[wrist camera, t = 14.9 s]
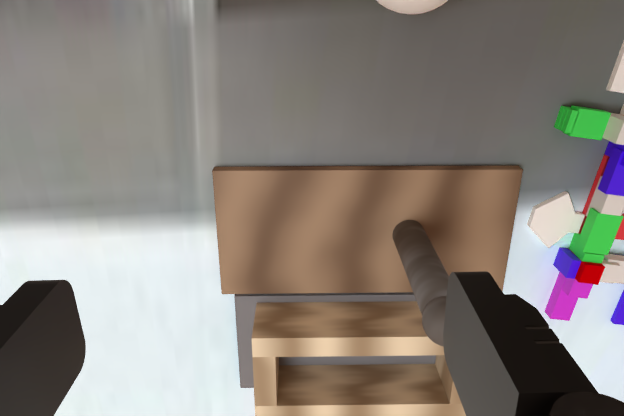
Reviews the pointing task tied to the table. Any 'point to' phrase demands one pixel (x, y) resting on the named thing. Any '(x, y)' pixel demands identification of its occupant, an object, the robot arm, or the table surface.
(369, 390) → the open wooden box
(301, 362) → the grey rubber mat
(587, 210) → the building block set
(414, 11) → the lightbulb
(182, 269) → the table surface
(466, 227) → the walnut post stand
